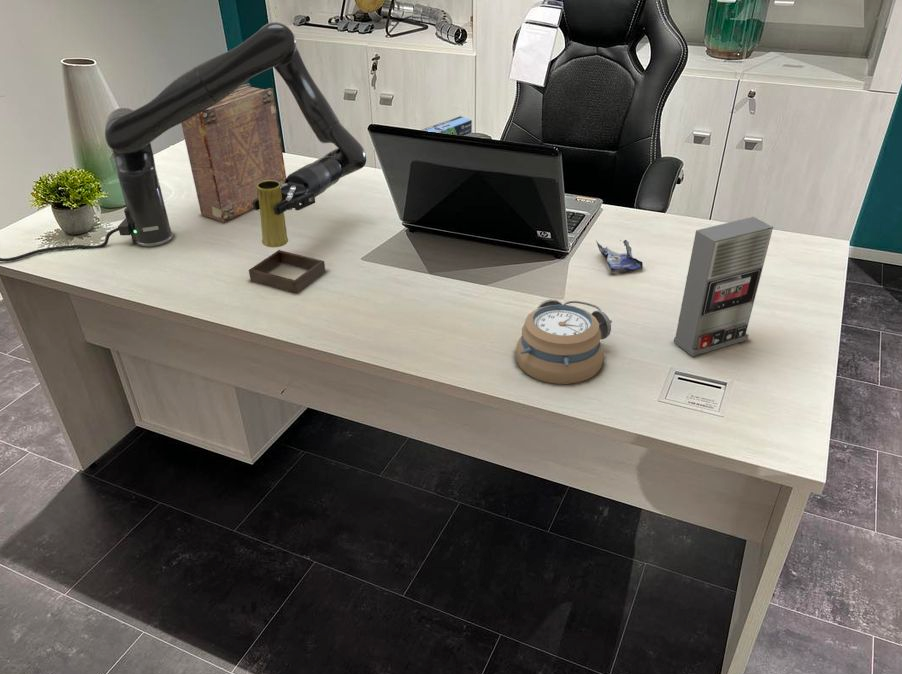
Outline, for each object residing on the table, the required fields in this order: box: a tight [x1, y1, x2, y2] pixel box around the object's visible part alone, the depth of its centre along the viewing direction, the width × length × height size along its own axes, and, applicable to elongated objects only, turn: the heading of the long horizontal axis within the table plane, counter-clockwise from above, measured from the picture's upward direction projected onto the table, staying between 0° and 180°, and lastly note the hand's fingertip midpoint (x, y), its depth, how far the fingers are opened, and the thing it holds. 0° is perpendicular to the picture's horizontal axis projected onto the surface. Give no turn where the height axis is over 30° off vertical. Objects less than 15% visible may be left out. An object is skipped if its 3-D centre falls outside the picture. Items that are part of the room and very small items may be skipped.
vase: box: [257, 180, 289, 248], centre depth 176 cm, size 6×6×14 cm
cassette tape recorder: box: [673, 216, 774, 357], centre depth 148 cm, size 14×6×25 cm, turn 114°
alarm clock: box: [515, 299, 613, 385], centre depth 152 cm, size 17×9×23 cm
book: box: [180, 82, 287, 224], centre depth 210 cm, size 25×9×30 cm, turn 145°
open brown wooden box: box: [248, 249, 327, 294], centre depth 182 cm, size 14×12×3 cm
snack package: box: [595, 239, 644, 273], centre depth 183 cm, size 12×6×12 cm
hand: (265, 208), depth 173 cm, fingers closed on vase, 5 cm apart
